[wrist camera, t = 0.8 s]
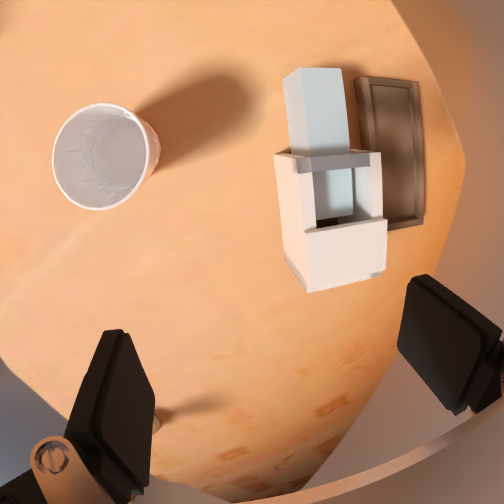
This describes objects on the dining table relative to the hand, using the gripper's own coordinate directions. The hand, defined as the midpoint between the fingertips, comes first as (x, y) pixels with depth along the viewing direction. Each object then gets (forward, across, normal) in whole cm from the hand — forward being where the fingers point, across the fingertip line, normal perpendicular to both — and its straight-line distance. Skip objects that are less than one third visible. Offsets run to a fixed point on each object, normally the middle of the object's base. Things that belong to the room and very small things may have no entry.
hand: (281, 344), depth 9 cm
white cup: (+24, +9, -7) cm, 26 cm away
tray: (+24, -20, -4) cm, 31 cm away
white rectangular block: (+24, -9, -5) cm, 26 cm away
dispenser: (+24, -10, +2) cm, 26 cm away
